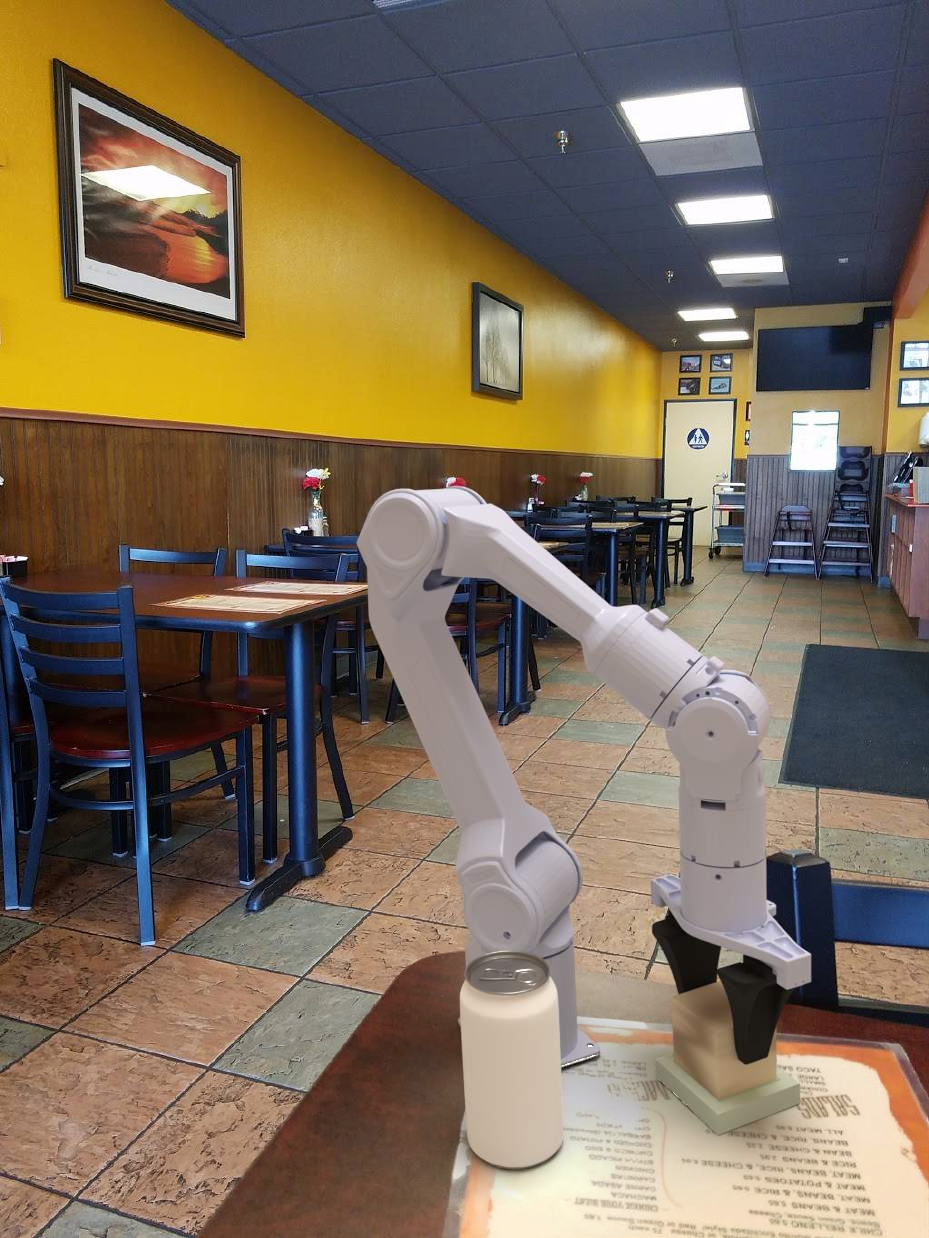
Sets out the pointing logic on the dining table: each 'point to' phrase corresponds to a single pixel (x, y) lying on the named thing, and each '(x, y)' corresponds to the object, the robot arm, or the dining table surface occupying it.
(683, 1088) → the base
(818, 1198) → the dining table surface
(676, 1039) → the block
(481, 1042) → the can
